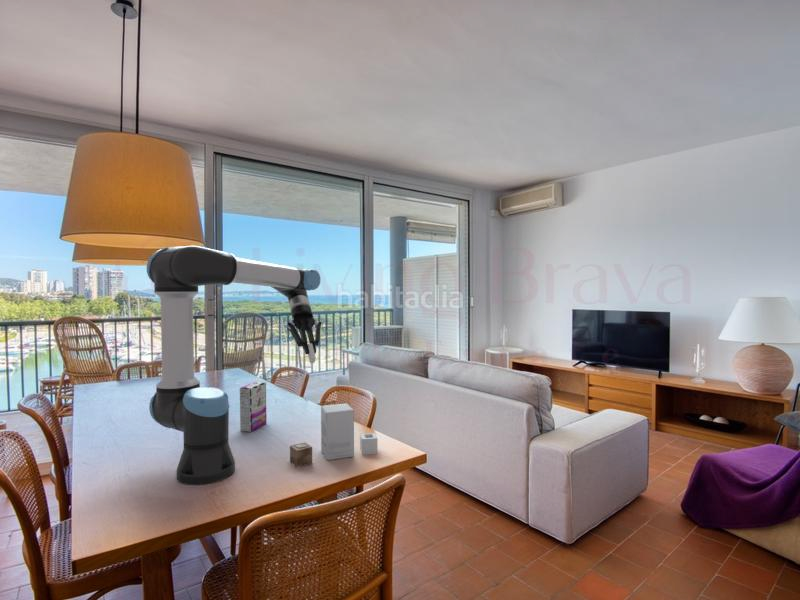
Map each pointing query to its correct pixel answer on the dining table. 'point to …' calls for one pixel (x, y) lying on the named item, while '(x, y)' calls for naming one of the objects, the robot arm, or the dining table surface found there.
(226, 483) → the dining table surface
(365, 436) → the pale grey block
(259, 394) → the candy bar box
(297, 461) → the walnut block
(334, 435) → the supplement box
